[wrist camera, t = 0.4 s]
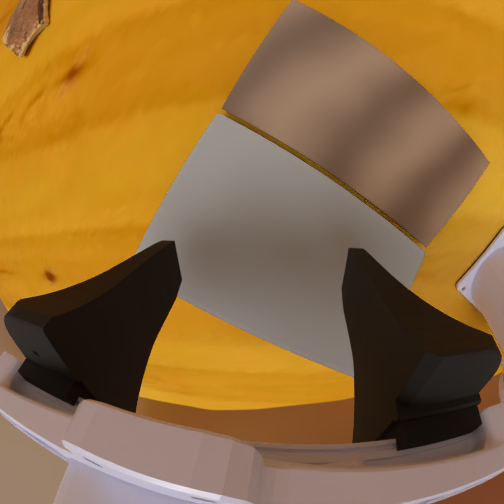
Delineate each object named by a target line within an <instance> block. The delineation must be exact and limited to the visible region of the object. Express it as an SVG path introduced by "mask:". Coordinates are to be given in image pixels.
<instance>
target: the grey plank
mask: <svg viewBox="0 0 504 504" xmlns="http://www.w3.org/2000/svg"><path fill="white" fill-rule="evenodd" d="M162 240H167V241H175V245H176V250H177V256H178V261H179V266H180V271H181V276H182V282H181V285H180V288H179V291H178V294H177V297H179V298H181V299H183V300H185V301H187V302H188V303H190V304H192V305H194V306H196V307H198V308H200V309H202V310H204V311H206V312H208V313H210V314H211V315H213V316H215V317H217V318H219V319H221V320H223V321H225V322H227V323H229V324H232V325H234V326H236V327H238V328H240V329H242V330H244V331H246V332H248V333H250V334H252V335H255V336H257V337H259V338H261V339H263V340H265V341H268V342H270V343H272V344H274V345H276V346H279V347H281V348H283V349H285V350H288V351H290V352H292V353H295V354H297V355H299V356H302V357H304V358H306V359H309V360H311V361H314V362H316V363H319V364H321V365H324V366H326V367H329V368H331V369H334V370H336V371H339V372H341V373H344V374H347V375H349V376H352V377H354V366H353V356H352V350H351V345H350V340H349V335H348V330H347V325H346V320H345V316H344V311H343V302H342V290H341V288H342V283H343V277H344V272H345V266H346V261H347V255H348V249H349V248H363V249H364V250H366V251H367V252H368V253H369V254H370V255H371V256H372V257H373V258H374V259H375V260H376V261H377V262H379V263H380V264H381V265H382V266H383V267H384V268H385V269H386V270H387V271H388V272H389V273H390V274H391V275H392V276H394V277H395V278H396V279H397V280H398V281H399V282H400V283H402V284H403V285H404V286H405V287H406V288H408V289H410V287H411V285H412V283H413V281H414V279H415V276H416V274H417V272H418V270H419V268H420V265H421V263H422V261H423V258H424V256H425V254H426V252H424V251H423V250H422V249H421V248H420V247H419V246H418V245H416V244H415V243H414V242H413V241H412V240H410V239H409V238H408V237H407V236H406V235H404V234H403V233H402V232H401V231H400V230H398V229H397V228H396V227H395V226H393V225H392V224H391V223H390V222H388V221H387V220H386V219H384V218H383V217H382V216H381V215H379V214H378V213H377V212H375V211H374V210H373V209H371V208H370V207H369V206H367V205H366V204H365V203H363V202H362V201H361V200H359V199H358V198H357V197H355V196H354V195H352V194H351V193H350V192H348V191H347V190H345V189H344V188H343V187H341V186H340V185H338V184H337V183H335V182H334V181H332V180H331V179H330V178H328V177H327V176H325V175H324V174H322V173H321V172H319V171H318V170H316V169H315V168H313V167H311V166H310V165H308V164H307V163H305V162H304V161H302V160H301V159H299V158H297V157H296V156H294V155H293V154H291V153H289V152H288V151H286V150H284V149H283V148H281V147H279V146H278V145H276V144H274V143H273V142H271V141H269V140H267V139H266V138H264V137H262V136H260V135H259V134H257V133H255V132H253V131H252V130H250V129H248V128H246V127H244V126H242V125H241V124H239V123H237V122H235V121H233V120H231V119H229V118H227V117H225V116H224V115H222V114H220V113H217V115H216V116H215V117H214V119H213V120H212V122H211V123H210V125H209V126H208V128H207V129H206V131H205V132H204V134H203V135H202V137H201V138H200V140H199V141H198V143H197V145H196V146H195V148H194V149H193V151H192V152H191V154H190V156H189V157H188V159H187V160H186V162H185V164H184V165H183V167H182V169H181V170H180V172H179V174H178V175H177V177H176V179H175V180H174V182H173V184H172V186H171V187H170V189H169V191H168V193H167V194H166V196H165V198H164V200H163V201H162V203H161V205H160V207H159V209H158V211H157V212H156V214H155V216H154V218H153V220H152V222H151V224H150V226H149V228H148V230H147V231H146V233H145V235H144V237H143V239H142V241H141V243H140V245H139V247H138V249H137V251H136V254H137V253H139V252H141V251H142V250H144V249H146V248H148V247H149V246H151V245H153V244H155V243H157V242H159V241H162ZM136 254H135V255H136Z"/></svg>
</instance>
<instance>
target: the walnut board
mask: <svg viewBox="0 0 504 504" xmlns="http://www.w3.org/2000/svg"><path fill="white" fill-rule="evenodd" d="M222 109H223V110H225V111H227V112H229V113H231V114H233V115H235V116H237V117H238V118H240V119H242V120H244V121H246V122H248V123H250V124H251V125H253V126H255V127H257V128H259V129H260V130H262V131H264V132H266V133H267V134H269V135H271V136H272V137H274V138H276V139H278V140H279V141H281V142H283V143H284V144H286V145H288V146H289V147H291V148H292V149H294V150H296V151H297V152H299V153H300V154H302V155H304V156H305V157H307V158H308V159H310V160H311V161H313V162H315V163H316V164H318V165H319V166H321V167H322V168H324V169H325V170H327V171H328V172H330V173H331V174H332V175H334V176H335V177H337V178H338V179H340V180H341V181H343V182H344V183H345V184H347V185H348V186H350V187H351V188H352V189H354V190H355V191H356V192H358V193H359V194H361V195H362V196H363V197H365V198H366V199H367V200H369V201H370V202H371V203H373V204H374V205H375V206H376V207H378V208H379V209H380V210H382V211H383V212H384V213H385V214H387V215H388V216H389V217H390V218H392V219H393V220H394V221H395V222H397V223H398V224H399V225H400V226H402V227H403V228H404V229H405V230H406V231H408V232H409V233H410V234H411V235H412V236H413V237H415V238H416V239H417V240H418V241H419V242H420V243H422V244H423V245H424V246H425V247H427V246H428V245H429V243H430V242H431V241H432V240H433V239H434V238H435V236H436V235H437V234H438V233H439V232H440V230H441V229H442V228H443V227H444V225H445V224H446V223H447V222H448V220H449V219H450V218H451V217H452V215H453V214H454V213H455V212H456V210H457V209H458V208H459V206H460V205H461V204H462V202H463V201H464V200H465V198H466V197H467V195H468V194H469V193H470V191H471V190H472V189H473V187H474V186H475V184H476V183H477V181H478V180H479V178H480V177H481V175H482V174H483V172H484V171H485V169H486V168H487V166H488V165H489V163H490V162H489V161H488V160H487V158H486V157H485V156H484V154H483V153H482V152H481V150H480V149H479V148H478V146H477V145H476V144H475V143H474V141H473V140H472V139H471V138H470V136H469V135H468V134H467V133H466V131H465V130H464V129H463V128H462V127H461V126H460V124H459V123H458V122H457V121H456V120H455V119H454V118H453V117H452V116H451V114H450V113H449V112H448V111H447V110H446V109H445V108H444V107H443V106H442V105H441V104H440V103H439V102H438V101H437V100H436V99H435V98H434V97H433V96H432V95H431V94H430V93H429V92H428V91H427V90H426V89H425V88H424V87H423V86H422V85H420V84H419V83H418V82H417V81H416V80H415V79H414V78H413V77H412V76H410V75H409V74H408V73H407V72H406V71H405V70H403V69H402V68H401V67H400V66H399V65H397V64H396V63H395V62H394V61H392V60H391V59H390V58H388V57H387V56H386V55H385V54H383V53H382V52H381V51H379V50H378V49H376V48H375V47H374V46H372V45H371V44H370V43H368V42H367V41H365V40H364V39H362V38H361V37H359V36H358V35H356V34H355V33H353V32H352V31H350V30H348V29H347V28H345V27H344V26H342V25H340V24H339V23H337V22H335V21H334V20H332V19H330V18H328V17H327V16H325V15H323V14H321V13H319V12H317V11H316V10H314V9H312V8H310V7H308V6H306V5H304V4H302V3H300V2H298V1H295V0H292V1H291V2H290V4H289V5H288V6H287V8H286V9H285V10H284V12H283V13H282V14H281V16H280V17H279V19H278V20H277V21H276V23H275V24H274V26H273V27H272V29H271V30H270V31H269V33H268V34H267V36H266V37H265V39H264V40H263V42H262V43H261V45H260V46H259V48H258V49H257V51H256V52H255V54H254V55H253V57H252V59H251V60H250V62H249V63H248V65H247V66H246V68H245V70H244V71H243V73H242V75H241V76H240V78H239V79H238V81H237V83H236V84H235V86H234V88H233V90H232V91H231V93H230V95H229V96H228V98H227V100H226V102H225V103H224V105H223V107H222Z"/></svg>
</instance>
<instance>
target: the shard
mask: <svg viewBox="0 0 504 504" xmlns="http://www.w3.org/2000/svg"><path fill="white" fill-rule="evenodd" d="M48 2H49V0H20V1H19V3H18V5H17V7H16V9H15V10H14V13H13V14H12V16H11V18H10V20H9V23H8V25H7V28H6V30H5V32H4V34H3V42H4V45H5V46H7V47H8V48H9V49H11V50H12V51H13V52H14V53H15V55H16V56H18V57H23V56H24V55H25V53H26V51H27V49H28V46H29V45H30V44H31V42H32V41H33V40H34V38H35V37H36V36H37V35H38V34H39V33H40V32H41V31H42V30H43V29H44V28H45V27H46V26H47V25H48V24H49V21H50V20H49V16H48V14H49V13H48Z"/></svg>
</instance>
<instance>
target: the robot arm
mask: <svg viewBox="0 0 504 504" xmlns="http://www.w3.org/2000/svg"><path fill="white" fill-rule="evenodd" d="M181 282H182V276H181V271H180V266H179V261H178V256H177V250H176V245H175V241H167V240H162V241H159V242H157V243H155V244H153V245H151V246H149V247H148V248H146V249H144V250H142V251H141V252H139V253H137V254H136V255H134V256H132V257H131V258H129V259H127V260H125V261H124V262H122V263H120V264H118V265H116V266H115V267H113V268H111V269H109V270H107V271H106V272H104V273H102V274H100V275H97V276H95V277H93V278H91V279H89V280H86V281H84V282H81V283H79V284H76V285H73V286H71V287H68V288H65V289H62V290H59V291H56V292H52V293H49V294H45V295H41V296H36V297H30V298H25V299H20V300H19V301H18V302H16V304H15V305H14V306H13V307H12V308H11V309H10V310H9V311H8V313H7V314H6V315H5V317H4V322H5V326H6V328H7V330H8V332H9V334H10V336H11V337H12V338H13V340H14V341H15V343H16V345H17V346H18V347H19V349H20V350H21V351H22V353H23V354H24V356H25V357H26V359H25V361H24V362H23V363H22V362H21V361H20V360H19V359H18V358H16V357H15V356H13V355H11V354H9V353H8V352H5V351H4V353H3V354H2V356H1V357H0V413H1V414H2V415H3V416H4V417H5V418H6V419H7V420H9V421H10V422H11V423H12V424H13V425H14V426H16V427H17V428H18V429H20V430H21V431H22V432H24V433H25V434H26V435H28V436H29V437H30V438H32V439H33V440H35V441H36V442H37V443H39V444H40V445H42V446H43V447H45V448H46V449H48V450H49V451H51V452H52V453H54V454H55V455H57V456H59V457H60V458H62V459H63V460H65V461H67V462H68V463H69V465H68V467H67V470H66V472H65V475H64V477H63V479H62V482H61V484H60V487H59V489H58V492H57V495H56V497H55V500H54V503H53V504H431V503H434V502H437V501H440V500H442V499H445V498H448V497H450V496H453V495H456V494H458V493H461V492H463V491H466V490H468V489H470V488H473V487H475V486H477V485H479V484H481V483H483V482H485V481H487V480H489V479H490V478H492V477H494V476H496V475H498V474H500V473H501V472H503V471H504V372H503V373H502V374H501V376H500V380H499V396H500V401H501V403H499V404H496V405H494V406H491V407H488V408H486V409H484V410H482V411H481V412H479V410H478V407H477V405H478V404H480V402H481V398H480V395H479V392H480V391H481V389H482V388H483V387H484V386H485V385H486V384H487V383H488V381H489V380H490V379H491V378H492V377H493V375H494V374H495V373H496V371H497V370H498V368H499V365H500V363H501V365H502V368H503V370H504V359H503V360H502V361H501V357H502V355H501V353H500V351H499V349H498V347H497V345H496V343H495V341H494V339H493V337H492V335H490V334H487V333H485V332H482V331H480V330H477V329H475V328H472V327H470V326H468V325H465V324H463V323H461V322H459V321H457V320H455V319H453V318H451V317H450V316H448V315H446V314H444V313H442V312H441V311H439V310H438V309H436V308H434V307H433V306H431V305H429V304H428V303H426V302H425V301H424V300H422V299H421V298H419V297H418V296H417V295H415V294H414V293H413V292H411V291H410V290H409V289H408V288H406V287H405V286H404V285H403V284H402V283H400V282H399V281H398V280H397V279H396V278H395V277H394V276H392V275H391V274H390V273H389V272H388V271H387V270H386V269H385V268H384V267H383V266H382V265H381V264H380V263H379V262H377V261H376V260H375V259H374V258H373V257H372V256H371V255H370V254H369V253H368V252H367V251H366V250H364V249H363V248H349V249H348V255H347V261H346V266H345V272H344V277H343V283H342V288H341V290H342V302H343V311H344V316H345V320H346V325H347V330H348V335H349V340H350V345H351V350H352V356H353V366H354V395H355V405H354V430H353V442H352V443H348V444H322V445H321V444H319V445H304V444H277V443H264V442H253V441H244V440H239V439H237V438H234V437H232V436H227V435H223V434H219V433H215V432H211V431H207V430H202V429H196V428H192V427H187V426H182V425H177V424H173V423H169V422H165V421H161V420H157V419H153V418H150V417H146V416H143V415H139V414H136V413H135V412H136V406H137V401H138V396H139V392H140V387H141V383H142V379H143V376H144V372H145V369H146V365H147V362H148V359H149V356H150V353H151V350H152V347H153V344H154V342H155V340H156V337H157V335H158V333H159V331H160V329H161V327H162V325H163V323H164V321H165V319H166V318H167V316H168V314H169V312H170V310H171V308H172V306H173V304H174V302H175V300H176V297H177V294H178V291H179V288H180V285H181ZM456 288H457V289H458V291H459V292H460V293H462V294H463V295H464V296H465V297H466V298H467V299H468V300H469V301H470V302H471V303H472V304H473V305H474V306H475V307H476V308H477V309H478V310H479V311H480V312H481V313H482V315H483V316H484V318H485V320H486V322H487V323H488V325H489V327H490V329H491V331H492V332H493V334H494V336H495V338H496V340H497V342H498V344H499V346H500V348H501V350H502V352H503V354H504V228H503V229H502V230H501V231H500V233H499V234H498V235H497V237H496V238H495V239H494V241H493V242H492V243H491V244H490V246H489V247H488V248H487V249H486V251H485V252H484V253H483V254H482V255H481V257H480V258H479V259H478V260H477V261H476V263H475V264H474V265H473V266H472V267H471V268H470V269H469V271H468V272H467V273H466V274H465V275H464V276H463V277H462V278H461V279H460V280H459V282H458V283H457V284H456Z"/></svg>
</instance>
